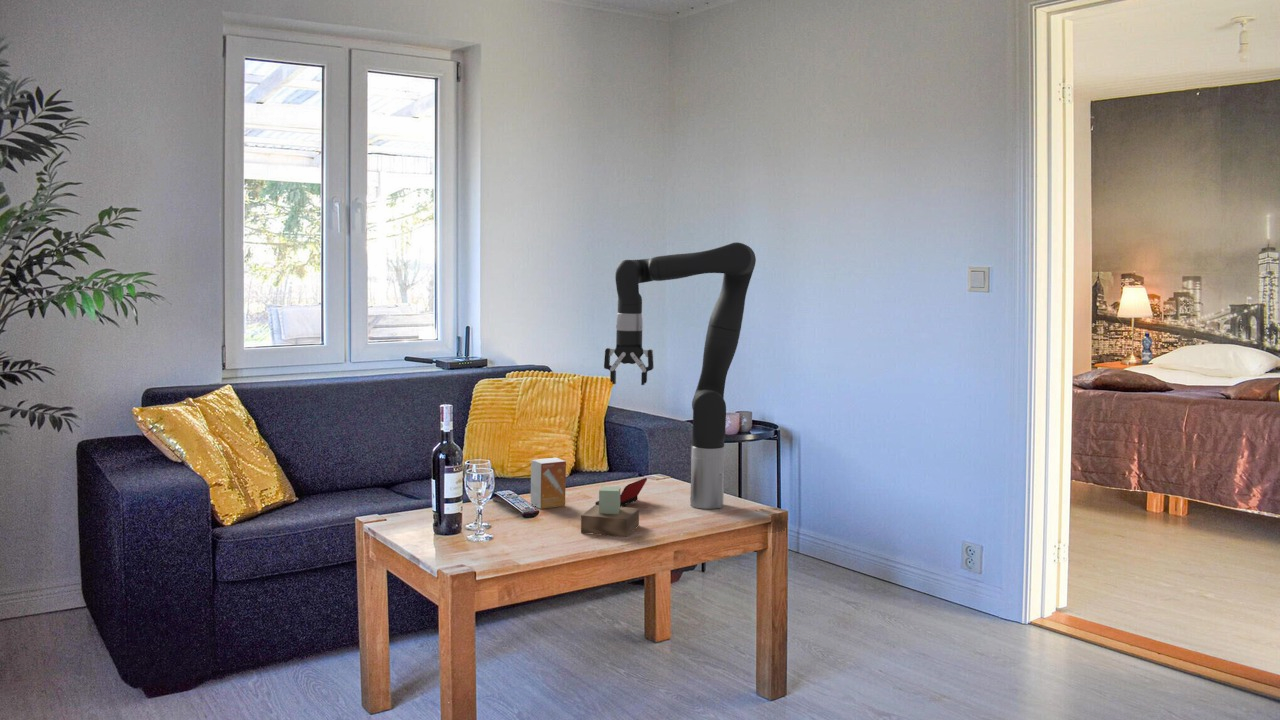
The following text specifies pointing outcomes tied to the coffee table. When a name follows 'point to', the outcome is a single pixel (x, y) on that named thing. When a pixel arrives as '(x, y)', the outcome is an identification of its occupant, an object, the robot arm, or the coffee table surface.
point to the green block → (609, 500)
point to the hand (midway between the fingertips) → (628, 384)
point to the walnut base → (610, 522)
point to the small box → (548, 482)
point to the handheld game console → (630, 492)
